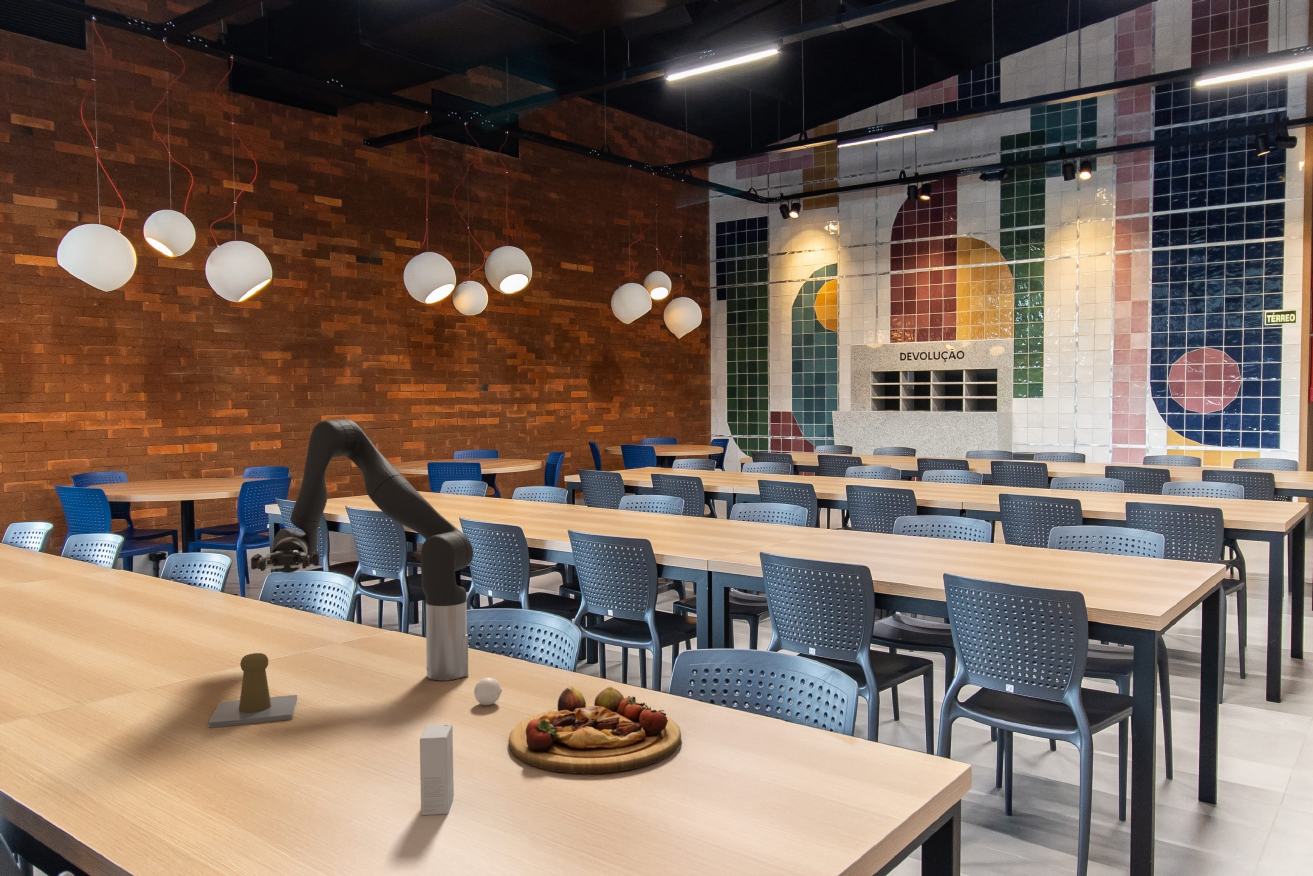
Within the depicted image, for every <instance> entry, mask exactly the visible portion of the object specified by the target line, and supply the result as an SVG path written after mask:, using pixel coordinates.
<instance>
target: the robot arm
mask: <svg viewBox="0 0 1313 876" xmlns="http://www.w3.org/2000/svg"><path fill="white" fill-rule="evenodd" d="M337 457H338V458H339V457H346V458H347V459H349V460H350V461H351V462H352V463H353V464H354V465H355V466H356V467H357V468H358V469H359V471H361V473H362V475H363V476H362V477H363V483H364V488H365V491H366V494H367V497H369V499H370V500H371V502H373V503H374V504H375V506H377V507H378V509H379V510H380V511H381V512H382V513H383V514H384V515H385V516H387V517H388V518H389V519H391V520H393V521H395V522H396V523H398V524H400V525H402V526H404V527H407V528H408V529H410V530H411V531H413V532H416V533H417V534H418V535H420V536H421V537H423V539H425V540H424V542H423V544H422V545H421V548H420V549H421V550H420V572H421V573H420V575H421V586H422V591H423V593H424V596H425V622H426V623H425V624H426V625H425V627H426V628H425V629H426V631H425V632H426V633H425V635H426V636H425V638H426V641H425V642H426V646H425V647H426V678H427V679H430V680H435V681H452V680H457V679H461V678H464V677H469V636H468V625H467V624H468V623H467V621H468V620H467V619H468V617H467V616H468V615H467V612H468V611H467V608H468V607H467V604H468V603H467V590H466V588H464V587H462V586H460V585H458V584H457V581H456V571H460V570H463V569H465V568H467V567H468V566H469V565H470V564H471V563H472V561H473V558H474V548H473V545H472V543H471V541H470V539H469V538H468V536H467V535H466V534H464V533H463V532H462V531H461V530H460V529H459V528H457V526H455V525H454V524H452V522H450V521H449V520H447V519H446V518H445V517H444V516H443V515H441V514H440V513H439V512H438V510H436V509H435V508H434V507H433V506H432V505H431V503H430V502H429V501H428V500H427V499H425V498H424V497H423V496H422V495H421V494H420V493H419V491H417V489H416V488H415V487H414V486H413V485H412V484H411V483H410V482H409V480H408V479H406V478H405V477H404V476H403V474H401V473H400V471H398V470H397V469H396V468H395V467H394V466H393V465H392V464H391V463H390V461H389V460H388V459H386V457H384V455H383V454H382V453H381V452H380V451H379V450H378V448H377V447H376V446H375V445H374V444H373V442H372V441H371V439H370V438H369V437H368V436H367V435H366V433H365V432H364V430H363V429H362V428H361V427H360V426H359V425H358V424H357V423H356V422H354V421H353V420H350V419H345V418H342V419H341V418H340V419H327V420H322V421H319V422H318V423H316V424H315V426H314V427H313V428H312V430H311V434H310V436H309V440H308V447H307V453H306V458H305V464H304V471H303V475H302V481H301V484H300V485H301V487H300V489H299V492H298V494H297V497H296V501H295V503H294V506H293V509H292V511H291V514H290V519H289V520H290V522H291V524H292V525H293V526H294V527H296V528H298V529H299V531H298V530H295V529H293V528H289V527H287V528H286V527H284V528H281V529H280V530H278V531H277V533H276V534H275V536H274V538H273V541H272V542H273V543H272V550H271V553H267V554H266V556H263V555H262V554H260V553H256V554H254V555H253V556H252V557H251V558H250V569H251V570H253V571H255V570H260V572H264V571H265V570H266V569H267V570H275V569H276V570H277V571H279V572H281V573H284V574H289V573H290V574H291V573H294V572H296V571H298V570H300V569H301V568H302V569H303V570H304V569H307V568H309V567H311V565H313V566H314V567H318V566H320V551H318V534H319V533H318V532H319V526H320V522H321V519H322V517H323V515H324V511H325V508H326V505H327V501H328V489H327V484H326V471H327V468H328V466H329V464H330V462H331V460H332V458H337ZM300 530H301V531H300Z"/></svg>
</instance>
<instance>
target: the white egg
mask: <svg viewBox="0 0 1313 876" xmlns="http://www.w3.org/2000/svg"><path fill="white" fill-rule="evenodd" d="M473 693H474V699H476V701H477V702H478V703H479V704H480V705H483V706H491V705H493V704H495V703H497V701H499V699H500V697H501V694H502V687H501V685H500V683H499V682H498V680H497V679H495V678H492V677H484V678H482V679H480V680H479V681H478V682H476V685H475V686H474V690H473Z"/></svg>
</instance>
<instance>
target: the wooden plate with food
mask: <svg viewBox="0 0 1313 876" xmlns="http://www.w3.org/2000/svg"><path fill="white" fill-rule="evenodd" d="M636 701H637V700H636V697H635V696H632V697H631V696H630V695H627V697H624V695H623V694H622V693H621V692H620V691H619V690H618V689H616V688H614V687H613V686H608V687H606V688H604V689H603V690H602V691H600V692H599V693H598V694H597V695H596V697H595V699H594V703H590V704H589V703H588V704H587V703H586V699H585V697H584V695H583V693H582V692H581V691H580V690H579V689H578V688H575V687H574V686H568V687H566V688H565V689H563V691H562V692H561V694H560V695H559V696H558V701H557V708H554V709H553V708H552V709H550V710H545V711H542V712H539V713H535V714H533V715H531V716H529V717H527V718H525V719H523V720H522V721H521V722H519V723H518V724H516V725H515V726H514V728H513V729H512V730H511V731H510V733H509V737H508V746H509V748H510V751H511V752H512V753H513V755H514V756H515V757H516V758H518V759H520V760H521V761H522V762H524V763H526V764H528V765H531V766H533V767H536V768H538V769H543V770H547V771H552V772H559V773H567V774H579V775H580V774H582V775H583V774H584V775H589V774H590V775H592V774H608V773H617V772H625V771H630V770H635V769H639V768H642V767H645V766H649V765H651V764H655V763H656V762H659V761H661V760H663V759H664V758H666V757H668V756H669V755H670V754H673V752H674V751H675V750H676V749H677V748H678V747H679V745H680V743H681V740H682V733H681V729H680V726H679V725H678V724H677V722H675V721H674V719H672V718H671V717H669V716H668V715H667V713H666V712H665V710H664V709H660V710H656V709H651V708H652V707H651V706H648V705H647V704H646V703H645V702H641V703H639V702H636Z"/></svg>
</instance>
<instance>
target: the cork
mask: <svg viewBox="0 0 1313 876" xmlns="http://www.w3.org/2000/svg"><path fill="white" fill-rule="evenodd" d="M268 667H269V658H268V655H267V654H265V653H263V652H262V653H261V652H260V653H258V652H255V653H249V654H246V655H244V656H243V657H242V658H241V660H240V669H241V670H242V672H243V673H242V681H241V682H242V683H241V690H240V698H239V700H240V704H239V711H241V712H245V713H252V712H259V711H263V710H266V709H268V708H270V707H271V701H270V697H271V695H270V689H269V685H268V678H267V677H268V676H267V672H266V669H267V668H268Z"/></svg>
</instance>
